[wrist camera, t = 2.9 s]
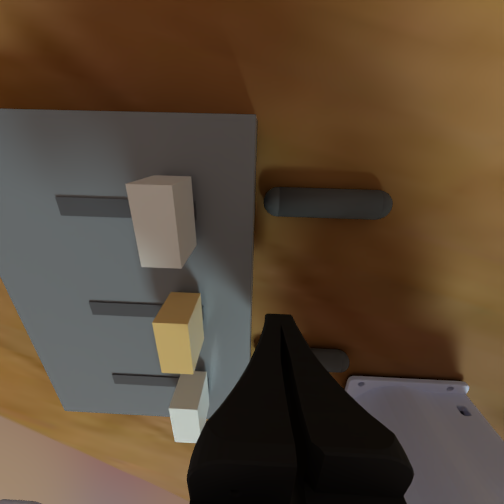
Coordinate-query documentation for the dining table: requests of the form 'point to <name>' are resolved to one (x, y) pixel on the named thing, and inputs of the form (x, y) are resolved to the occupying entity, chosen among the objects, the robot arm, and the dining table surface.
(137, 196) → the paddle
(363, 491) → the robot arm
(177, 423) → the paddle
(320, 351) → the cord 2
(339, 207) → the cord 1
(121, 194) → the grey slider panel
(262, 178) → the dining table surface
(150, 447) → the dining table surface
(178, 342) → the paddle middle
